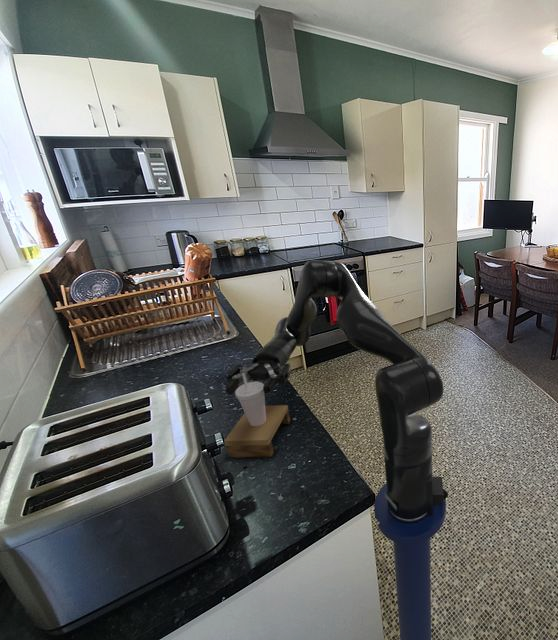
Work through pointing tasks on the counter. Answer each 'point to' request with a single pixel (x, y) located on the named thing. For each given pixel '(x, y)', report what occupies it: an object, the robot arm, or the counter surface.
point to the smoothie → (252, 401)
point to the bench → (256, 434)
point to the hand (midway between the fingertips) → (247, 391)
